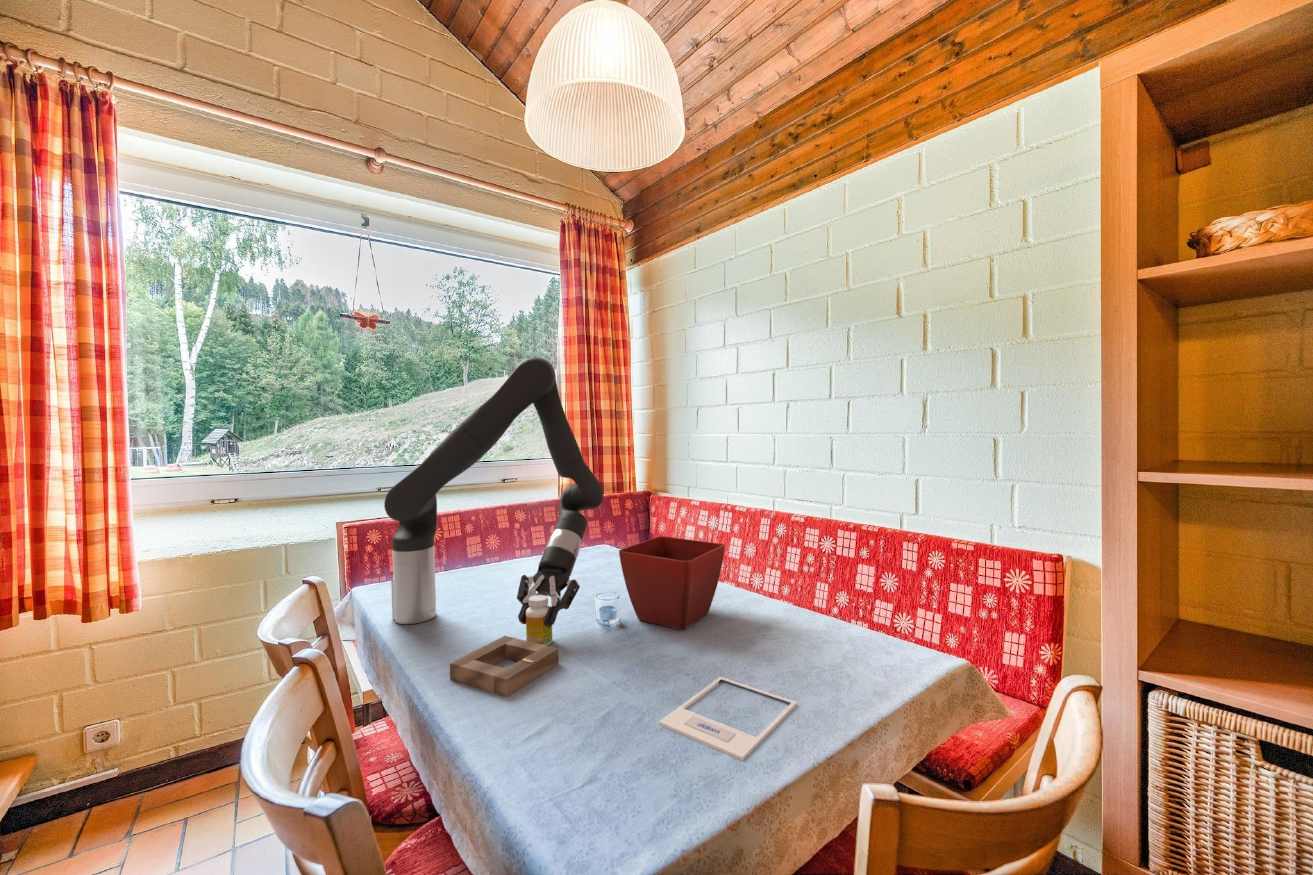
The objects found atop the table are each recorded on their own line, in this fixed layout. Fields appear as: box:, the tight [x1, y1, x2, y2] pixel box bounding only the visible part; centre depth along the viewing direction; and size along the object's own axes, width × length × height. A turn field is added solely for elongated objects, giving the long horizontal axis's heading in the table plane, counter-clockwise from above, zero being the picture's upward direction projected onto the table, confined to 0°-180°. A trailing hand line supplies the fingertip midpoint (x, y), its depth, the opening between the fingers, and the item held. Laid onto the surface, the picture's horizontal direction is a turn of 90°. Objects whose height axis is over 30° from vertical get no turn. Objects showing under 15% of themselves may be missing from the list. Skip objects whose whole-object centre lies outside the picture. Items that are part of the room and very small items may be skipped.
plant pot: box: [618, 535, 726, 631], centre depth 129 cm, size 19×19×17 cm
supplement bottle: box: [525, 595, 553, 646], centre depth 115 cm, size 5×5×10 cm
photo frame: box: [658, 676, 798, 762], centre depth 86 cm, size 15×1×18 cm
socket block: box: [449, 635, 560, 697], centre depth 102 cm, size 14×14×3 cm
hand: (534, 623), depth 113 cm, fingers closed on supplement bottle, 5 cm apart
